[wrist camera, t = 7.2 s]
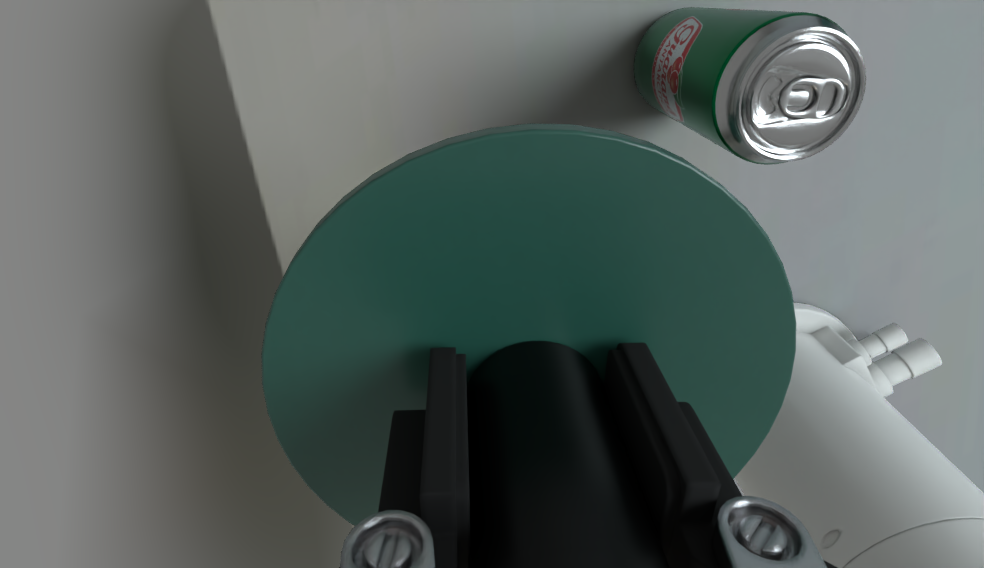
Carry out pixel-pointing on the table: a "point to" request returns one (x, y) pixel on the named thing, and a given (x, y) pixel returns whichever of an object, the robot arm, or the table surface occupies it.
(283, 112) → the table surface
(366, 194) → the lid
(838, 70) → the soda can
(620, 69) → the table surface
